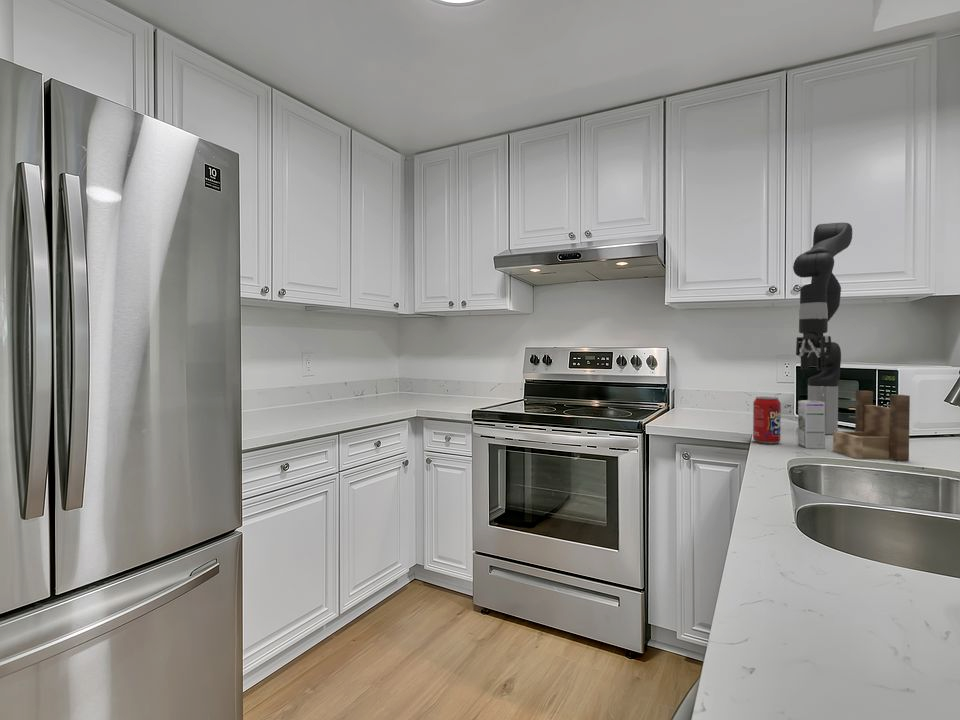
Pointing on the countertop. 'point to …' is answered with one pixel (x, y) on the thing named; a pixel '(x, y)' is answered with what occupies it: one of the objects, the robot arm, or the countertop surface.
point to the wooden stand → (877, 430)
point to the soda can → (766, 420)
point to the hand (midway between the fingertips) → (812, 369)
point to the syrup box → (811, 424)
